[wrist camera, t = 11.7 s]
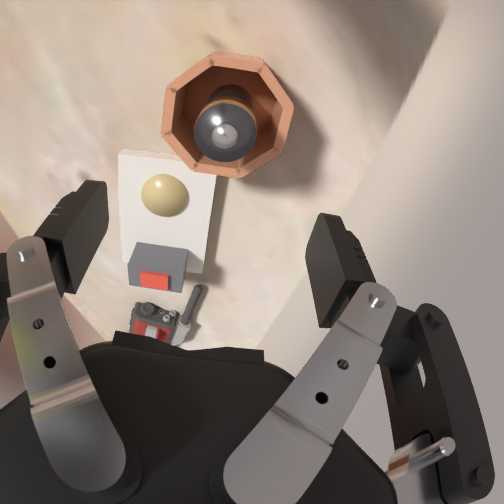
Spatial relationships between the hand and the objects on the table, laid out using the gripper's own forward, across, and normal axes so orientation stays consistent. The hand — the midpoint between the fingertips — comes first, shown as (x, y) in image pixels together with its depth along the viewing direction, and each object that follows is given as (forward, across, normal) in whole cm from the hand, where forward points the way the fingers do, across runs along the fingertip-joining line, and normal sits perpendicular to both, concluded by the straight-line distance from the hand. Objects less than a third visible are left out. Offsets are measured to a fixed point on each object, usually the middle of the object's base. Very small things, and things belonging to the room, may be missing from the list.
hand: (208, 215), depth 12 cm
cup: (+20, 0, 0) cm, 20 cm away
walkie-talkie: (+20, +6, +32) cm, 38 cm away
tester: (+20, +5, +13) cm, 24 cm away
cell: (+19, 0, 0) cm, 19 cm away
